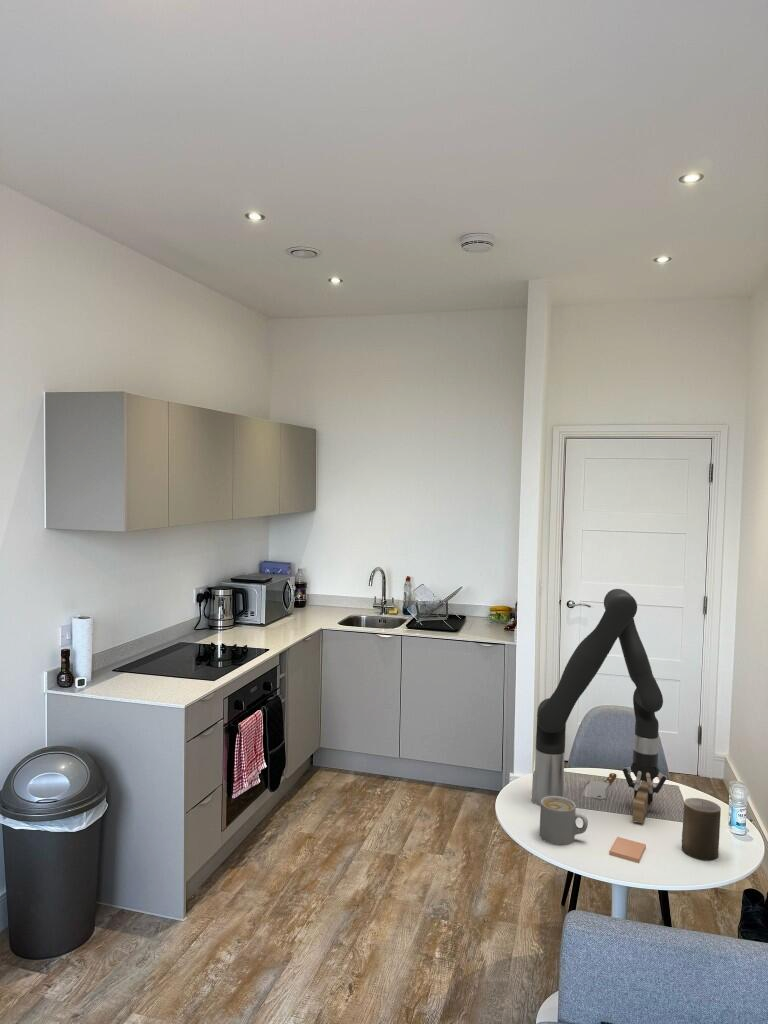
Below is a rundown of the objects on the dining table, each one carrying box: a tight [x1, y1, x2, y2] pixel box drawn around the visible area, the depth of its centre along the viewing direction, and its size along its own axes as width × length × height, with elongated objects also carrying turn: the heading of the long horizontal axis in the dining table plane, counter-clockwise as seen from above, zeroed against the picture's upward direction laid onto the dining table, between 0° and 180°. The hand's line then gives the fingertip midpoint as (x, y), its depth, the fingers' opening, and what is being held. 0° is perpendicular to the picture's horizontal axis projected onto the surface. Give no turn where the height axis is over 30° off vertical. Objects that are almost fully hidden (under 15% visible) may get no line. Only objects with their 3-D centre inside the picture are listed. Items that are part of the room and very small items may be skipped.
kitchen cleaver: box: [588, 772, 617, 801], centre depth 248 cm, size 24×1×10 cm
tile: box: [608, 836, 647, 864], centre depth 203 cm, size 8×2×10 cm
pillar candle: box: [681, 797, 722, 861], centre depth 204 cm, size 10×10×15 cm
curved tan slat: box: [632, 781, 650, 824], centre depth 229 cm, size 22×3×6 cm, turn 152°
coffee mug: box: [538, 796, 588, 846], centre depth 209 cm, size 13×10×10 cm
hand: (643, 802), depth 229 cm, fingers closed on curved tan slat, 3 cm apart
